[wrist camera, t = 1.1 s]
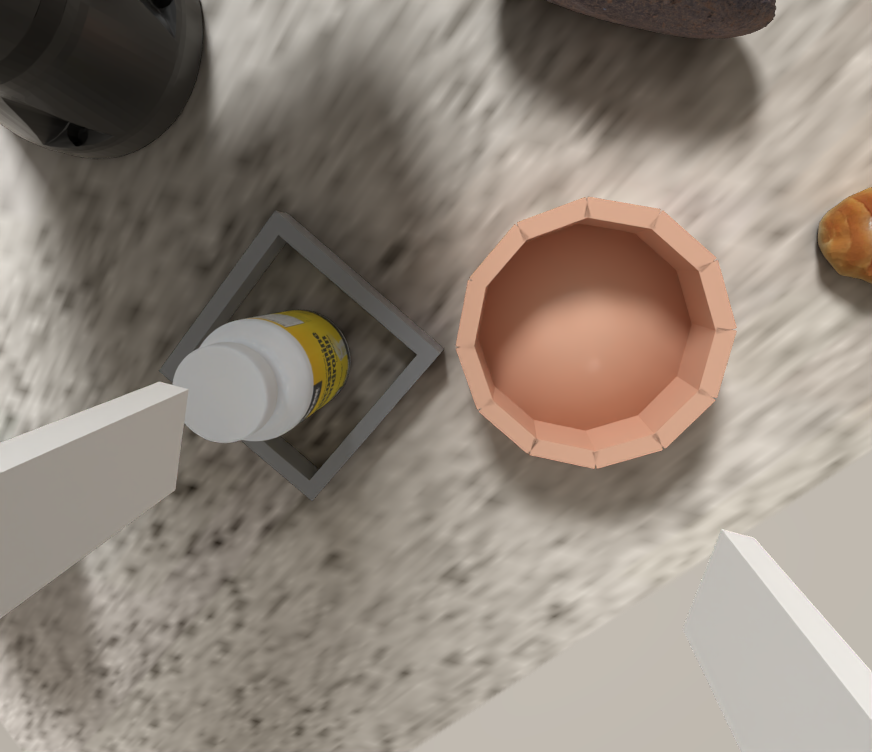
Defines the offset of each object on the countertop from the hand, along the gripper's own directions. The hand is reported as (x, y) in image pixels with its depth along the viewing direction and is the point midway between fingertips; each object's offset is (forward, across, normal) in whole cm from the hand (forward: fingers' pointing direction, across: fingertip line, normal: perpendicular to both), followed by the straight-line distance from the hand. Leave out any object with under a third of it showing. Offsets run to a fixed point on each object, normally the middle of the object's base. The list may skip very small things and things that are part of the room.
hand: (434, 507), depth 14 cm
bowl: (+23, +6, +3) cm, 24 cm away
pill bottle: (+23, -11, -3) cm, 26 cm away
